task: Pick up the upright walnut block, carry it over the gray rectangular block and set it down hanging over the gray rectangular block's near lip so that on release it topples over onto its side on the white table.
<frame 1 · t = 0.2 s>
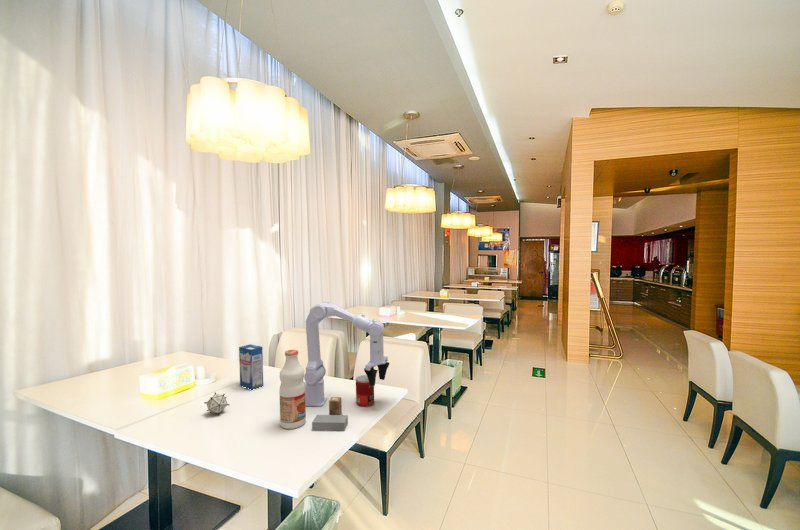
hand: (377, 382, 145), 10 cm above the table, tool pointing down, fingers open, 7 cm apart
grey spiked polyhedron: (217, 413, 141), on the table
walnut block: (335, 416, 136), on the table
canned food: (365, 403, 148), on the table
gray rectangular block: (330, 426, 128), on the table
fruit juice: (293, 424, 131), on the table
milk carton: (251, 387, 170), on the table
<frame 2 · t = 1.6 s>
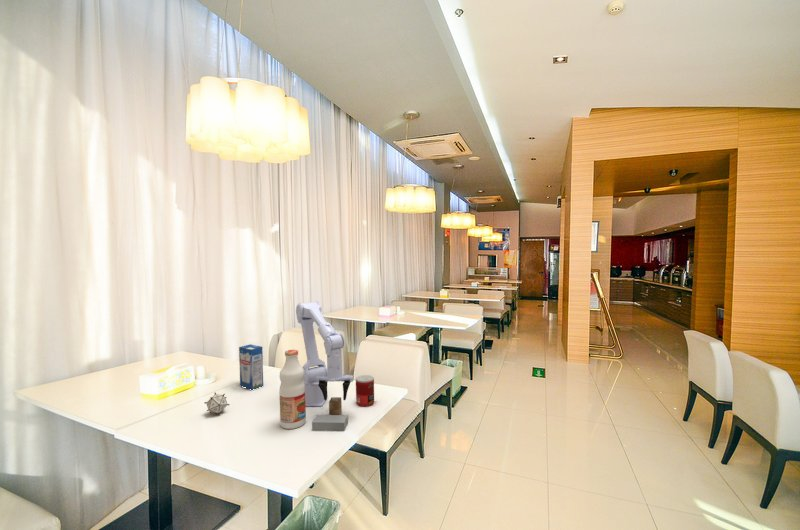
hand: (335, 399, 136), 7 cm above the table, tool pointing down, fingers open, 7 cm apart
nothing on the table moved.
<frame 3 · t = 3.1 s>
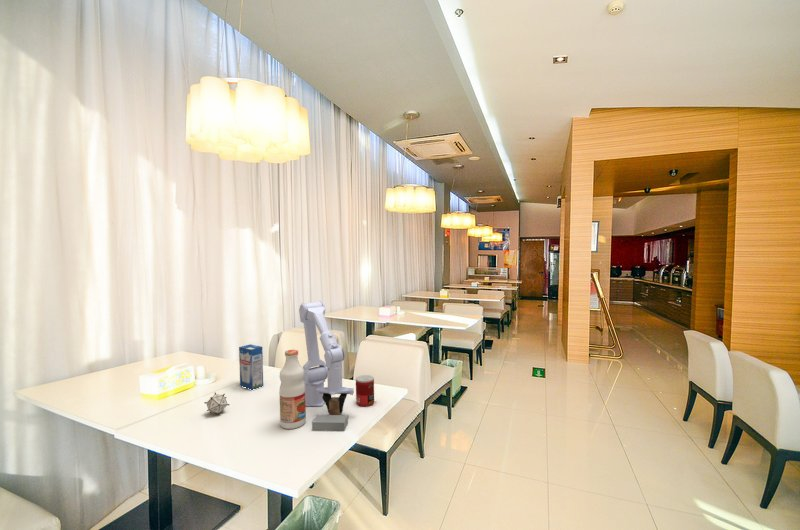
hand: (335, 411, 136), 2 cm above the table, tool pointing down, fingers closed on walnut block, 4 cm apart
walnut block: (335, 416, 136), on the table, touching gripper
everything else where it was.
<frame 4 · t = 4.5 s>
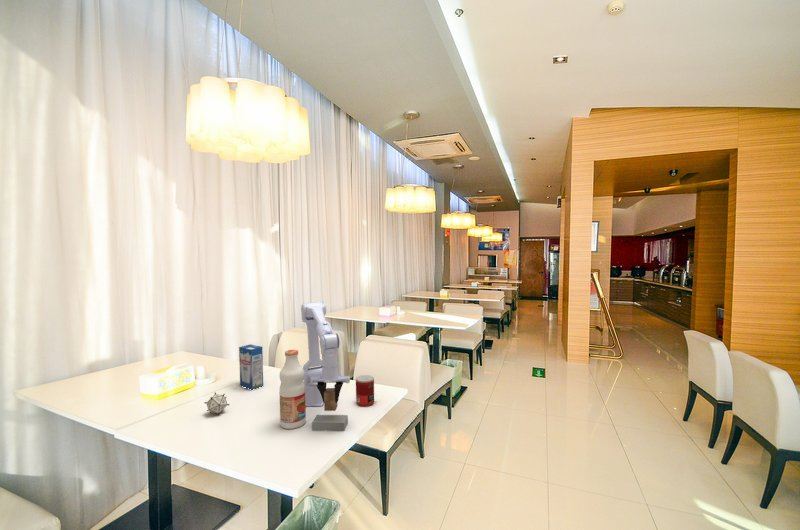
hand: (330, 401, 129), 9 cm above the table, tool pointing down, fingers closed on walnut block, 4 cm apart
walnut block: (331, 408, 129), point 6 cm above the table, touching gripper
everything else where it was.
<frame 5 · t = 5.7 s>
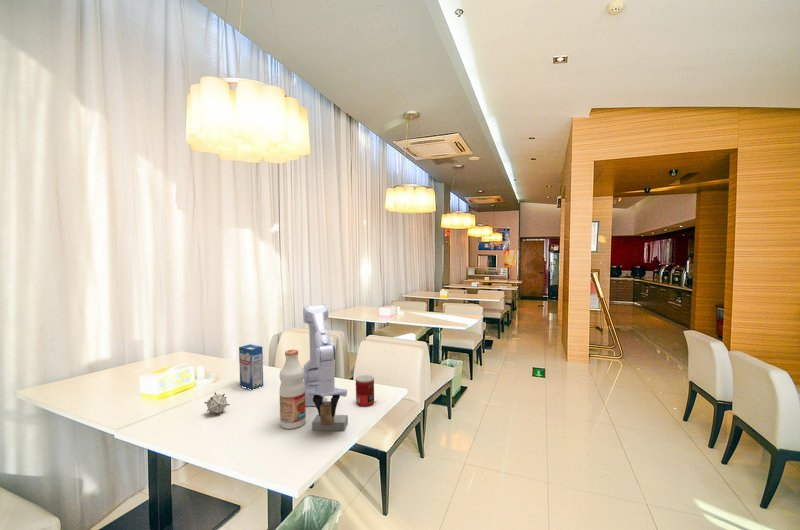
hand: (327, 415, 124), 6 cm above the table, tool pointing down, fingers closed on walnut block, 4 cm apart
walnut block: (327, 422, 124), point 3 cm above the table, touching gripper
everything else where it was.
when the fingers open (6 cm above the table, at t = 6.1 s): walnut block drops 1 cm and tips over, point 2 cm above the table.
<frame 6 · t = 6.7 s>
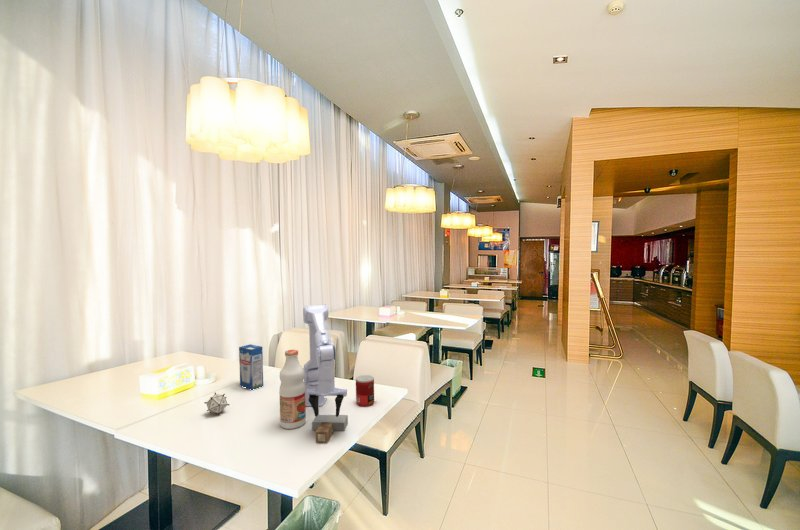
hand: (327, 415, 124), 6 cm above the table, tool pointing down, fingers open, 7 cm apart
walnut block: (327, 427, 124), point 2 cm above the table, tilted 90°
everything else where it was.
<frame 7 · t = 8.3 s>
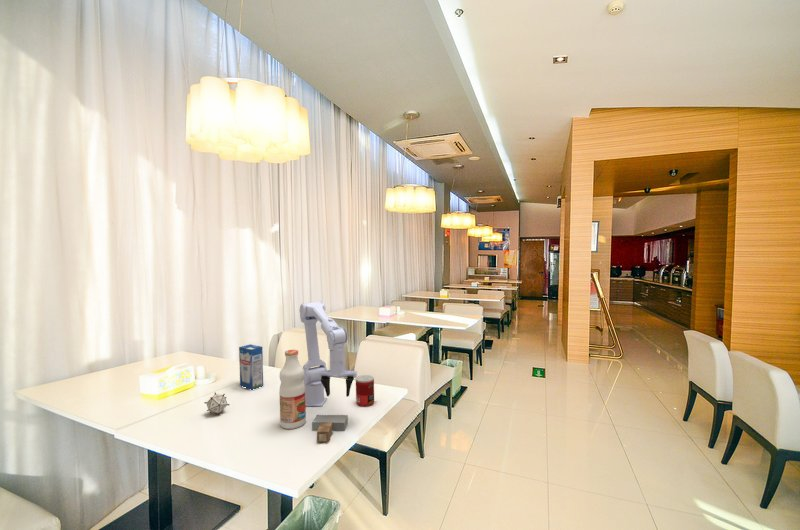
hand: (338, 395, 131), 10 cm above the table, tool pointing down, fingers open, 7 cm apart
nothing on the table moved.
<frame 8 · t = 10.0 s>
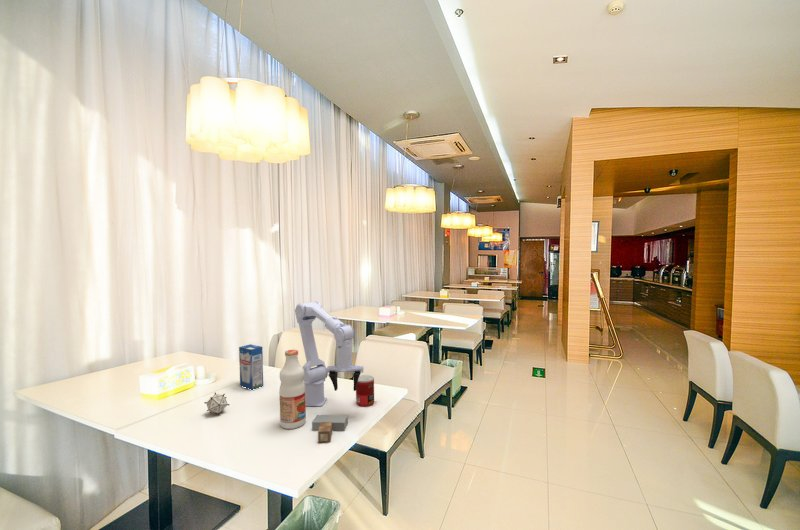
hand: (345, 389, 137), 10 cm above the table, tool pointing down, fingers open, 7 cm apart
nothing on the table moved.
at the end: walnut block tilted 90°; walnut block inside the target area (5.8 cm from its centre), point 1.8 cm above the table; the gripper is holding nothing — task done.
